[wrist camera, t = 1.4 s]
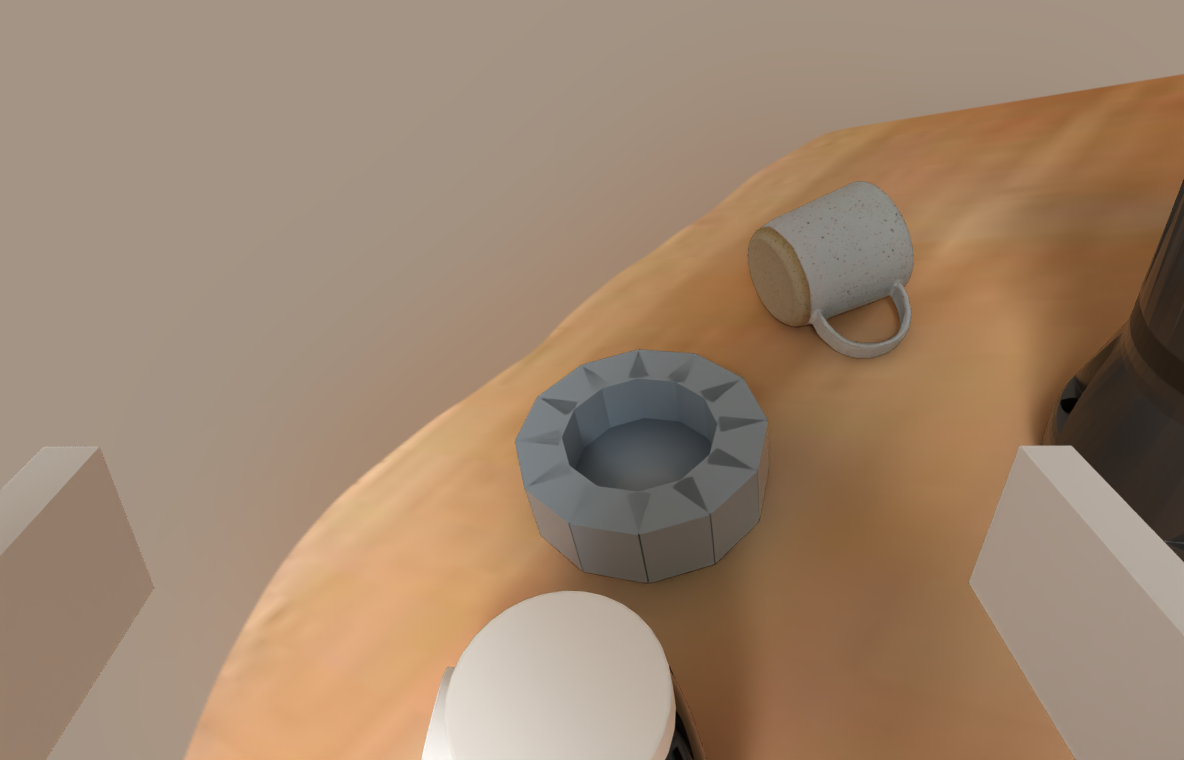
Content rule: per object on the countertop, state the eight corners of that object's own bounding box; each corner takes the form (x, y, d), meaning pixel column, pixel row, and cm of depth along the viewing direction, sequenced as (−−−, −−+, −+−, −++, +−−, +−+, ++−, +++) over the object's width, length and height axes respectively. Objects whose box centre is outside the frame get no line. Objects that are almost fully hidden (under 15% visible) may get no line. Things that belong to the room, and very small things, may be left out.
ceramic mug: (740, 297, 54) (737, 201, 49) (839, 258, 55) (846, 161, 50) (832, 385, 46) (840, 282, 41) (943, 336, 48) (964, 232, 43)
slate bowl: (718, 378, 48) (714, 328, 46) (805, 538, 38) (807, 487, 36) (519, 432, 47) (503, 385, 45) (556, 610, 38) (539, 563, 35)
